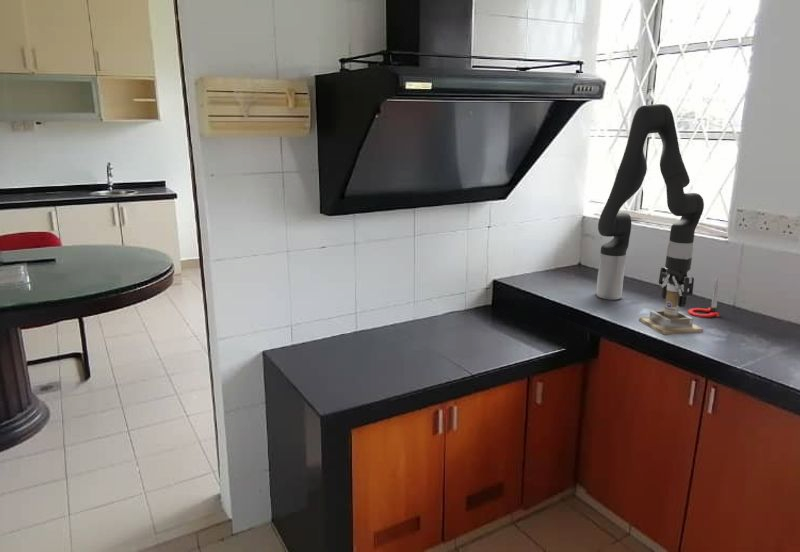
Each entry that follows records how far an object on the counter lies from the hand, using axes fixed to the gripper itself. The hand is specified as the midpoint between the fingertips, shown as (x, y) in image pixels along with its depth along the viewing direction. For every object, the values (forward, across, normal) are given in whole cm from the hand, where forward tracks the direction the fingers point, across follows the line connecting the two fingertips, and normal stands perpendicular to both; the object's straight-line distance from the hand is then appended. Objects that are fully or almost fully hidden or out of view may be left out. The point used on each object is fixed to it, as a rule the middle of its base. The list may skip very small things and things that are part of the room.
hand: (673, 302), depth 191 cm
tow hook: (+9, -9, +19) cm, 23 cm away
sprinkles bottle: (+8, 0, 0) cm, 8 cm away
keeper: (+8, 0, 0) cm, 8 cm away
